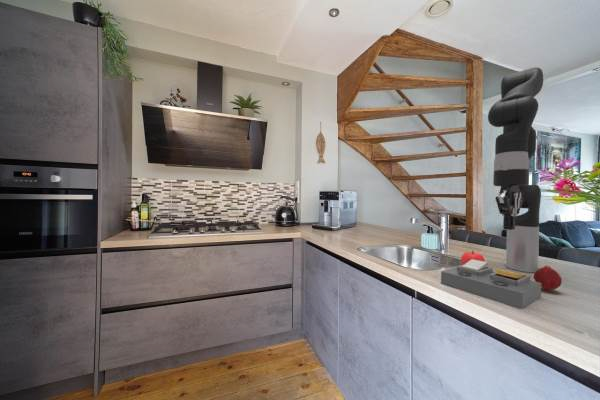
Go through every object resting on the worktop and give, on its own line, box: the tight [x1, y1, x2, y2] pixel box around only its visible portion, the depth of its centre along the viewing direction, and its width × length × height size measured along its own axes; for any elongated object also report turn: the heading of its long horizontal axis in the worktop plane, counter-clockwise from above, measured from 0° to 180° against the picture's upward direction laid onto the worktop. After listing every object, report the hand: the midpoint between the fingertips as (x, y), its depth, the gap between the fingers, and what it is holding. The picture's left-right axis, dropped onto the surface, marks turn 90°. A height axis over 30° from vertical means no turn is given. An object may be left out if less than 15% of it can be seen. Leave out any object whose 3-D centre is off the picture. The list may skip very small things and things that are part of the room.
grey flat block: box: [440, 265, 542, 310], centre depth 71 cm, size 14×20×5 cm
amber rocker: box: [495, 268, 525, 278], centre depth 68 cm, size 7×4×1 cm, turn 121°
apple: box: [460, 250, 486, 266], centre depth 89 cm, size 8×8×8 cm
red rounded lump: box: [533, 263, 563, 292], centre depth 71 cm, size 6×6×8 cm
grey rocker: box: [462, 259, 489, 271], centre depth 76 cm, size 7×4×1 cm, turn 121°
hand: (509, 229), depth 67 cm, fingers closed
